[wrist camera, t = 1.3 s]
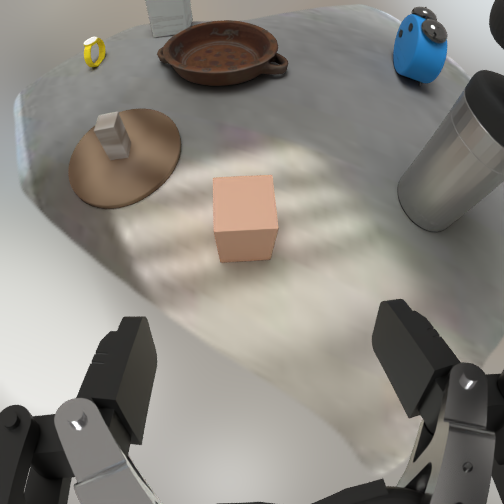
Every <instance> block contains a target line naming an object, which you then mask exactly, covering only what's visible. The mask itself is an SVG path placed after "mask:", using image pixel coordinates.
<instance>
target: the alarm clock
mask: <svg viewBox="0 0 504 504" xmlns="http://www.w3.org/2000/svg"><path fill="white" fill-rule="evenodd" d="M446 54H447V32H446V30H445V28H444V27H443V25H442V24H441V23H439V22H437V19H436V15H435V14H434V13H433V12H432V11H431V10H429V9H427V8H426V7H425V8H424V7H416V8H414V9H413V10H412V14H410V15H408V16H407V17H406V18H405V19H404V20H403V21H402V23H401V25H400V27H399V30H398V32H397V36H396V40H395V45H394V54H393V60H394V66H395V69H396V71H397V73H399V74H400V75H403V76H406V77H409V78H412V79H414V80H417V81H419V86H421V84H422V83H430V82H432V81H434V80H435V79H436V78H437V76H438V75H439V73H440V72H441V70H442V68H443V65H444V63H445V59H446Z"/></svg>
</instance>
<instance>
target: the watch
mask: <svg viewBox="0 0 504 504" xmlns="http://www.w3.org/2000/svg"><path fill="white" fill-rule="evenodd" d="M96 43H97V44H98V47H99V57H98V60H97V61H96V62H95V63H93V62H92V59H91V47H92V46H93V45H94V44H96ZM84 46H85V50H84V59H85V62H86V64H87V65H88V66H89V67H97V66H99V64H100V63H101V62H102V60H103V59H104V58H105V45H104V42H103V40H101V39H100V38H97V37H91V38H89V39H87V40H86V41H85V42H84Z"/></svg>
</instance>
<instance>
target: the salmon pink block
mask: <svg viewBox="0 0 504 504" xmlns="http://www.w3.org/2000/svg"><path fill="white" fill-rule="evenodd" d="M213 216H214V235H215V240H216V244H217V249H218V254H219V258H220V262H238V261H256V260H270V258H271V255H272V251H273V247H274V243H275V240H276V236H277V232H278V220H277V211H276V203H275V194H274V186H273V178H272V175H259V176H236V177H218V178H213Z"/></svg>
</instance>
